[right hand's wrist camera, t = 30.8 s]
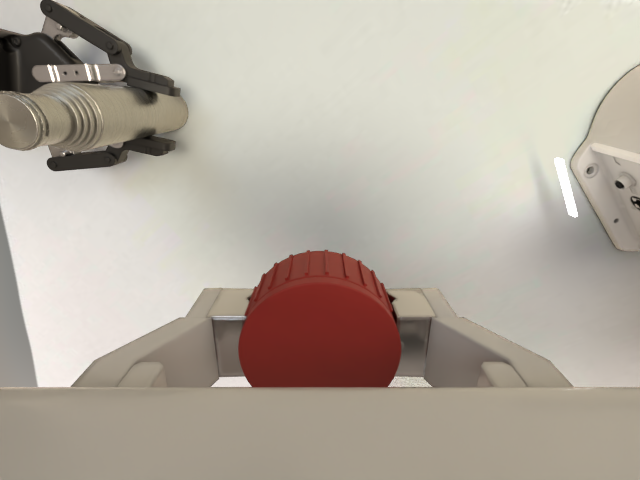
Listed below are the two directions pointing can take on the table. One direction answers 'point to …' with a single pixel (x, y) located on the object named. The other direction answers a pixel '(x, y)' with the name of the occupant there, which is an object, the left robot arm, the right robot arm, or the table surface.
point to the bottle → (85, 116)
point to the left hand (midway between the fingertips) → (174, 119)
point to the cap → (319, 326)
